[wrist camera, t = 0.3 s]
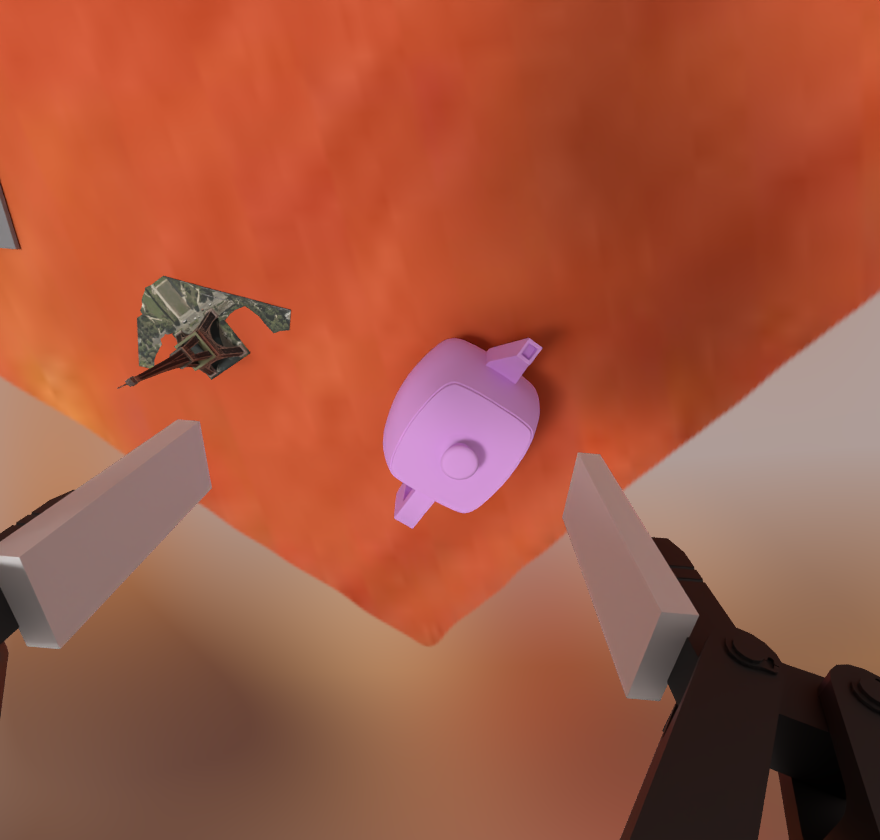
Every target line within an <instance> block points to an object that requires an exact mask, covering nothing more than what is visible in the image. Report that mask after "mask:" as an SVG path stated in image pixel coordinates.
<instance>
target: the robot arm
mask: <svg viewBox="0 0 880 840" xmlns="http://www.w3.org/2000/svg"><path fill="white" fill-rule="evenodd" d="M211 488H212V487H211V481H210V476H209V470H208V465H207V459H206V454H205V448H204V443H203V437H202V432H201V426H200V421H190V420H176V421H175V422H173V423H172V424H170V425H169V426H167V427H166V428H165V429H163V430H162V431H160V432H159V433H157V434H156V435H154V436H153V437H152V438H150V439H149V440H147V441H146V442H144V443H143V444H141V445H140V446H138V447H137V448H136V449H134V450H133V451H131V452H130V453H128V454H127V455H125V456H124V457H123V458H121V459H120V460H118V461H117V462H115V463H114V464H112V465H111V466H109V467H108V468H106V469H105V470H104V471H102V472H101V473H99V474H98V475H96V476H95V477H93V478H92V479H91V480H89V481H88V482H86V483H85V484H83V485H82V486H81V487H79V488H78V489H76V490H72V491H70V492H67V493H65V494H63V495H60V496H58V497H56V498H54V499H51V500H49V501H48V502H46V503H45V504H43V505H42V506H41V507H39V508H38V509H36V510H35V511H33V512H32V514H31V515H27V516H26V517H24V518H23V519H21V520H20V521H18V522H17V523H16V525H15V526H14V525H12V526H11V527H9V528H8V529H6V530H5V531H3V532H2V533H0V716H1V708H2V699H3V692H4V684H5V676H6V668H7V661H8V649H7V646H6V644H5V642H4V641H5V640H6V639H7V638H8V637H9V636H10V635H11V634H12V633H13V632H15V631H16V630H17V629H18V628H19V630H20V632H21V634H22V636H23V638H24V641H25V642H26V645H27V646H32V647H43V648H55V649H60V648H61V647H62V646H63V645H64V644H65V643H66V642H67V641H68V640H69V639H70V638H71V637H72V636H73V635H74V634H75V633H76V632H77V630H78V629H79V628H80V627H81V626H82V625H83V624H84V623H85V622H86V621H87V620H88V619H89V618H90V617H91V616H92V614H93V613H94V612H95V611H96V610H97V609H98V608H99V607H100V606H101V605H102V604H103V603H104V602H105V601H106V600H107V599H108V598H109V597H110V595H111V594H112V593H113V592H114V591H115V590H116V589H117V588H118V587H119V586H120V585H121V584H122V582H124V581H125V579H126V578H127V577H128V576H129V575H130V574H131V573H132V572H133V571H134V570H135V569H136V568H137V567H138V566H139V565H140V564H141V563H142V562H143V560H144V559H145V558H146V557H147V556H148V555H149V554H150V553H151V552H152V551H153V550H154V549H155V548H156V547H157V546H158V544H159V543H160V542H161V541H162V540H163V539H164V538H165V537H166V536H167V535H168V534H169V533H170V532H171V531H172V530H173V529H174V528H175V526H176V525H177V524H178V523H179V522H180V521H181V520H182V519H183V518H184V517H185V516H186V515H187V513H189V512H190V511H191V509H192V508H193V507H194V506H195V505H196V504H197V503H198V502H199V501H200V500H201V499H202V498H203V497H204V496H205V495H206V494H207V493H208V491H209V490H210V489H211ZM562 518H563V520H564V523H565V526H566V529H567V532H568V535H569V537H570V540H571V543H572V546H573V548H574V551H575V554H576V557H577V560H578V563H579V565H580V568H581V571H582V574H583V577H584V579H585V582H586V585H587V588H588V590H589V593H590V596H591V599H592V602H593V605H594V608H595V611H596V613H597V616H598V619H599V622H600V624H601V627H602V630H603V633H604V636H605V639H606V642H607V644H608V647H609V650H610V653H611V655H612V658H613V661H614V664H615V667H616V670H617V672H618V675H619V678H620V681H621V684H622V687H623V689H624V692H625V695H626V698H632V699H644V700H655V701H660V700H661V698H662V695H663V693H664V691H665V689H666V687H667V685H669V687H670V689H671V692H672V694H673V696H674V698H675V700H676V704H675V706H674V708H673V710H672V712H671V714H670V716H669V718H668V720H667V722H666V724H665V726H664V729H663V734H662V737H661V740H660V742H659V744H658V747H657V749H656V752H655V754H654V757H653V759H652V762H651V765H650V767H649V769H648V772H647V774H646V777H645V779H644V782H643V784H642V787H641V789H640V791H639V794H638V796H637V799H636V801H635V804H634V806H633V809H632V811H631V814H630V816H629V819H628V821H627V823H626V826H625V828H624V831H623V833H622V836H621V838H620V840H758V835H759V829H760V823H761V817H762V811H763V805H764V799H765V792H766V787H767V781H768V775H769V769H773V770H775V771H778V774H779V780H780V786H781V792H782V799H783V805H784V810H785V817H786V823H787V829H788V835H789V840H880V677H879V676H877V675H875V674H873V673H871V672H869V671H867V670H865V669H862V668H859V667H855V666H852V665H836V666H835V667H833V668H832V669H831V670H830V671H829V673H828V674H827V676H826V677H825V678H824V677H821V676H818V675H816V674H813V673H810V672H807V671H804V670H801V669H798V668H795V667H792V666H789V665H786V664H784V663H782V662H781V661H780V659H779V658H778V656H777V654H776V653H775V652H773V650H771V649H770V648H769V647H768V646H767V645H766V644H765V643H764V642H763V641H761V640H760V639H758V638H756V637H755V636H754V635H752V634H750V633H748V632H745V631H743V630H741V629H738V628H736V627H735V625H734V624H733V623H732V621H731V620H730V618H729V617H728V615H727V614H726V612H725V611H724V610H723V608H722V607H721V605H720V604H719V602H718V601H717V600H716V598H715V596H714V595H713V594H712V592H711V591H710V589H709V588H708V586H707V585H706V583H704V582H703V579H702V578H701V576H700V575H699V573H698V572H697V570H694V566H693V565H692V563H691V562H690V560H689V559H688V557H687V556H686V554H685V553H684V552H683V551H682V550H681V549H680V548H678V547H677V546H676V545H675V544H674V543H672V542H671V541H670V540H669V539H667V538H655V537H651V536H650V535H649V533H648V532H647V530H646V528H645V526H644V525H643V523H642V522H641V520H640V518H639V517H638V515H637V514H636V512H635V510H634V509H633V507H632V506H631V504H630V502H629V501H628V499H627V497H626V496H625V494H624V492H623V491H622V489H621V488H620V486H619V484H618V483H617V481H616V479H615V478H614V476H613V475H612V473H611V471H610V470H609V468H608V467H607V465H606V463H605V462H604V460H603V458H602V457H601V455H600V454H589V453H578V454H577V458H576V462H575V467H574V471H573V475H572V479H571V483H570V488H569V492H568V496H567V500H566V504H565V509H564V513H563V517H562Z"/></svg>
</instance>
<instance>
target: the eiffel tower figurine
mask: <svg viewBox="0 0 880 840" xmlns="http://www.w3.org/2000/svg"><path fill="white" fill-rule="evenodd" d="M243 306H246V307H247V308H249V309H250V310H251V311H253V312H254V313H255V314H257V315H258V316H259V317H260V318H261V319H262V321H263V322H264V323H265V324H266V325H267V326H268V327H269V329H270V330H271V331H272V332H273V333H276V332H278V331H285V330H289V328H290V313H291V310H289V309H285V308H281V307H277V306H273V305H270V304H266V303H263V302H259V301H256V300H252V299H248V298H245V297H241V296H236V295H232V294H228V293H225V292H221V291H217V290H213V289H209V288H206V287H202V286H198V285H194V284H191V283H187V282H183V281H180V280H176V279H173V278H169V277H166V276H163V277H161V278H160V279H158V280H157V281H156V282H155V283H153V284H152V285H150V286H148V287H146V288H145V292H144V294H143V297H142V308H141V310H140V311H141V313H142V314H143V315H141V316H139V317H138V318H137V327H138V352H139V366H142V367H146V368H150V369H148V370H146V371H145V372H143V373H141V374H139V375H137V376H135V377H134V376H132V377H130V378H129V379H127V380H126V381H125V382H126V384H124V385H122V386H120V387H118V389H119V388H121V387H123V386H125V385H129V386H130V387H131V386H134V385H136V384H137V383H139V382H140V381H142V380H145V379H147V378H150V377H152V376H155V375H158V374H160V373H163V372H166V371H169V370H172V369H175V368H180V369H183V368H185V367H192V368H193V369H194V370H195V371H196V370H198V369H199V370H201V371H203V372H204V373H206V374H207V375H208V376H209V378H210V379H211V380H212V379H213V378H215V377H216V376H218V375H219V374H221V373H222V372H224V371H225V370H227V369H228V368H229V367H231V366H232V365H234V364H235V363H237V362H238V361H240V360H241V359H243V358H244V357H246V356H247V355H248V354H250V352H249V350H248V349H247V348H246V347H245V345H244V344H243V343H242V342H241V340H240V339H239V338H238V337H237V335H236V334H235V333H234V332H233V330H232V329H231V328H230V327H229V325H228V324H227V323H226V322H225V320H226V318H227V317H228V316H229V314H230V313H232V312H233V311H234V310H236V309H239V308H241V307H243ZM172 333H173V334H172ZM165 334H172V335H173V336H174V337H175V338H176V339H177V343H178V344H177V345H176V346H174V347H175V348H176V349H177V350H176V351H174V352H173V353H171V354H170V357H169V358H167V359H166V360H164V361H162V362H161V363H159V364H157V365H155V366H154V359H155V356H156V354H157V353H158V350H159V348H160V346H161V345H162V343H161V340H160V339H161V338H162V337H163V336H164V335H165Z"/></svg>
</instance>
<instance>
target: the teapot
mask: <svg viewBox="0 0 880 840" xmlns="http://www.w3.org/2000/svg"><path fill="white" fill-rule="evenodd" d="M541 349H542V347H541V346H540V345H538V344H537V343H535V342H534V341H533V340H531V339H530V338H526V339H522V340H518V341H515V342H511V343H507V344H504V345H500V346H496V347H493V348H489V349H488V351H485V350H483V349H481V348H479V347H477V346H476V345H473V344H471V343H469V342H467V341H465V340H462V339H458V338H450V339H446V340H444V341H442V342H441V343H439V344H438V345H437V346H435V347H434V348H433V349H432V350H431V351H430V352H429V353H428V354H426V355H425V356H424V357H423V358H422V359H421V361H420V362H419V363H418V364H417V365H416V366H415V367H414V368H413V370H412V371H411V372H410V373H409V375H408V376H407V378H406V379H405V381H404V382H403V384H402V385H401V387H400V389H399V391H398V393H397V395H396V397H395V399H394V401H393V404H392V406H391V409H390V412H389V415H388V418H387V422H386V425H385V429H384V437H383V449H384V454H385V459H386V462H387V465H388V467H389V469H390V471H391V473H392V475H393V476H394V477H396V478H397V479H398V480H400V481H401V482H403V483H402V485H401V487H400V489H399V490H398V492H397V494H396V503H395V513H394V519H396V520H398V521H400V522H402V523H403V524H405V525H407V526H409V527H410V528H412V529H413V528H414V526H415V525H416V524H417V523H418V521H419V520H420V519H421V518H422V516H423V515H424V514H425V513H426V512H427V510H428V509H429V508H430V507H431V505H432V504H433V503H434V502H435V501H436V502H438V503H440V504H442V505H444V506H446V507H448V508H450V509H452V510H455V511H457V512H461V513H468V512H471V511H473V510H475V509H477V508H478V507H479V506H481V505H482V504H483V503H484V502H485V501H487V500H488V499H489V498H490V497H491V496H492V495H493V494H494V493H495V492H496V491H497V490H498V489H499V488H500V487H501V486H502V485H503V484H504V483H505V482H506V480H507V479H508V478H509V477H510V475H511V474H512V473H513V471H514V470H515V469H516V467H517V466H518V464H519V463H520V461H521V460H522V458H523V457H524V455H525V453H526V452H527V450H528V448H529V446H530V444H531V442H532V439H533V437H534V434H535V431H536V428H537V424H538V420H539V415H540V404H539V397H538V394H537V392H536V389H535V388H534V387H533V385H532V384H531V383H530V382H529V381H528V380H526V379H525V378H524V377H523V376H522V374H523V373H524V371H525V370H526V368H527V367H528V366H530V364H531V363H532V362H533V360H534V359H535V357H536V356H537V355H538V353H539V352H540V351H541Z"/></svg>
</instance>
